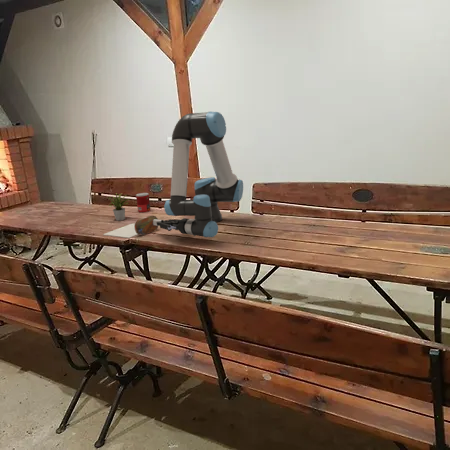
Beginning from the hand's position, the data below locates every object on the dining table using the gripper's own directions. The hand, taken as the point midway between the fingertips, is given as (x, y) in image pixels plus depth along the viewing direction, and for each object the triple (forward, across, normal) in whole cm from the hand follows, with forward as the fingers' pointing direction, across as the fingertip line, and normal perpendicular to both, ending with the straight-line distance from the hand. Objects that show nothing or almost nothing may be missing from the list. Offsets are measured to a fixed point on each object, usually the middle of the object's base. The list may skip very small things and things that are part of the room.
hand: (154, 222), depth 232 cm
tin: (+7, 0, -7) cm, 9 cm away
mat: (+19, 0, -6) cm, 20 cm away
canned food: (+46, +36, -7) cm, 59 cm away
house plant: (+45, +14, -7) cm, 47 cm away
